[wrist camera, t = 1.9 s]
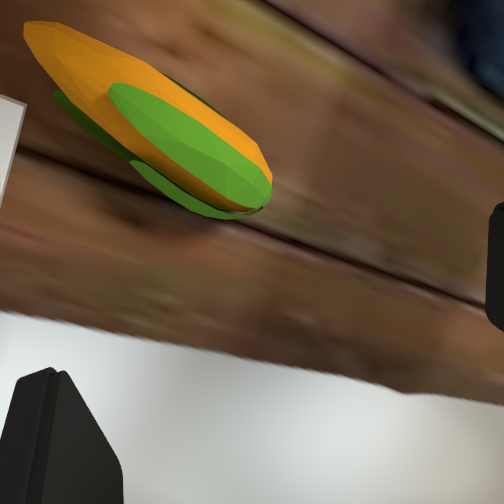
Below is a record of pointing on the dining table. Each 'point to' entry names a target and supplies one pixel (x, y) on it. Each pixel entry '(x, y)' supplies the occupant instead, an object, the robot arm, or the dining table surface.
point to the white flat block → (9, 135)
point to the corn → (153, 123)
